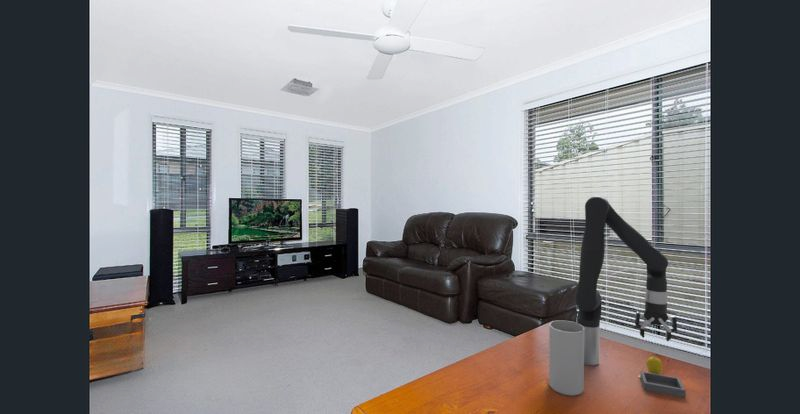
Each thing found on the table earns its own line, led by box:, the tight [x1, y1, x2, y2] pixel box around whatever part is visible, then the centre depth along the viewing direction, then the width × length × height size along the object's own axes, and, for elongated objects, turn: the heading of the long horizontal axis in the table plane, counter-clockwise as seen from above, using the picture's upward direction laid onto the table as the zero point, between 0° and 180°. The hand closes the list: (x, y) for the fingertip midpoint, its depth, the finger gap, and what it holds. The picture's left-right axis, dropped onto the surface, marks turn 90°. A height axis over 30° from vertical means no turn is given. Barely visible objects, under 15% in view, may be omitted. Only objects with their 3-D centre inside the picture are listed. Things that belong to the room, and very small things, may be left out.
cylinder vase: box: [548, 320, 585, 397], centre depth 147 cm, size 12×12×25 cm
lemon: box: [646, 356, 664, 375], centre depth 156 cm, size 6×6×8 cm
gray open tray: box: [639, 371, 686, 399], centre depth 146 cm, size 13×10×3 cm
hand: (655, 338), depth 155 cm, fingers open, 8 cm apart
